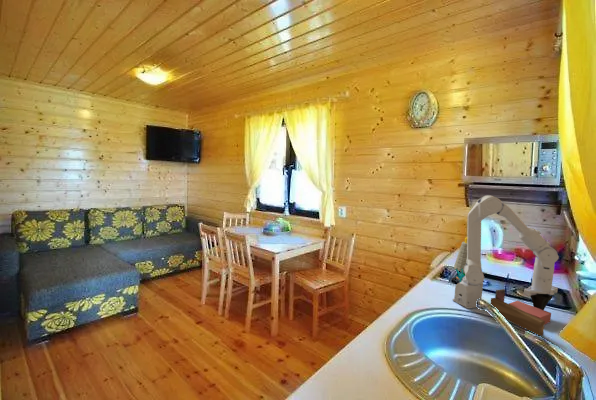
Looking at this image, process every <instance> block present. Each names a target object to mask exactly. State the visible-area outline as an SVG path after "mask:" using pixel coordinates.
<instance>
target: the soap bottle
mask: <svg viewBox="0 0 596 400" xmlns="http://www.w3.org/2000/svg"><path fill="white" fill-rule="evenodd" d="M466 259H467V236H466V237H464V241H462V242H461V245H460V247H459V251H458V254H457V257H456V259H455V262H454V266H453V269H454V270H455V271H456V269H457V268H458V269H457V270H458V271H460V273H462V270H460V269H463V273H464V266H465V265H466Z"/></svg>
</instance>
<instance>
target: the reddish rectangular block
mask: <svg viewBox="0 0 596 400" xmlns="http://www.w3.org/2000/svg"><path fill="white" fill-rule="evenodd" d="M508 304H509V305H512V306H514V307H516V308H518V309H520V310H522V311H524V312H527V313H529V314H531V315H533V316H535V317H537V318H539V319H541V320H544V321H545V324H544V326H545V325H547V324H549V323H551V319H552V312H549V311H547V310H545V309H544V310H542V309H539V308H536V307H534V306H533V305H530V304H527V303H525V302H522V301H519V300H515V301H513V302H510V303H508Z"/></svg>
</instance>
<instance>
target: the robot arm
mask: <svg viewBox="0 0 596 400" xmlns="http://www.w3.org/2000/svg"><path fill="white" fill-rule="evenodd" d="M494 214H496V215H498V216H500V217H503V218H504V219H506V220H507V221H508V223H510V225H512V226H513V228H515V229H516V231H518V232H519V235H518V237H519V239H520V240H521V241H522V242H523V243H524V245H526V246H527V248H529V250H530V251H532V254H533V255H534V256H535V260H534V264H533V272H532V280H531V285H530V286H529V287H527V288H524V290H523V295H524V296H527V297H529V298H530V299H531V301H532V306H533V307H536V308H539V309H542V310H544V311H545V309H546V306H547V305H548V304H549V302H550V301H551V300H552V299H553V295H555V294H557V293H558V287H556V286H553V281H554V280H553V278H554V272H555V263H556V262H557V261H558V260H559V258H560V256H559V255H558V253H559V252H557V250H556V249H554V247H552V246H551V242H549V241H548V240H546V239H545V238H544V237H543V236H542V235H541V232H540V231H539V230H538V229H537V230H536V229H535V228H531V227H527V225H526V224H525V223H524V222H523V221H522V220H521V218H520V217H518V215H517V214H516V213H515V211H513V209H512V208H510V207H509V205H507V204H506V203H504V202H502V200H501V199H500V198H498V197H496V196H493V195H490V194H486V195H483V196H481V197H480V198H479V199H477V200H476V202H475V204H474V205H473V207H472V208H471V209H470V210H469V212H468V213H467V228H466V229H467V234H466V237H467V259H466V265H465V266H464V273H465V275H466V276H464V278H462V279H463V280H461V282H460V281H459V282H458V283H457V284H456V285H455V289H454V298H452V301H454V302H455V303H457V304H459V305H461V306H463V307H464V308H466V309H474V308H477V307H476V301H477V299H479V298H480V299H481V300H482V299H483V298H482V297H483V287H484V280H485V276H484V275H485V274H484V273H483V271H482V260H481V259H482V255H481V254H482V251H481V250H482V221H483V220H485V219H486V218H487V217H489V216H492V215H494Z"/></svg>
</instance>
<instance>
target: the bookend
mask: <svg viewBox="0 0 596 400" xmlns="http://www.w3.org/2000/svg"><path fill="white" fill-rule="evenodd" d="M505 294H506V289H504V288H503V289H496V290H495V296H494V298H497V299H499V300H501V301H503V302H505V298H506V295H505Z"/></svg>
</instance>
